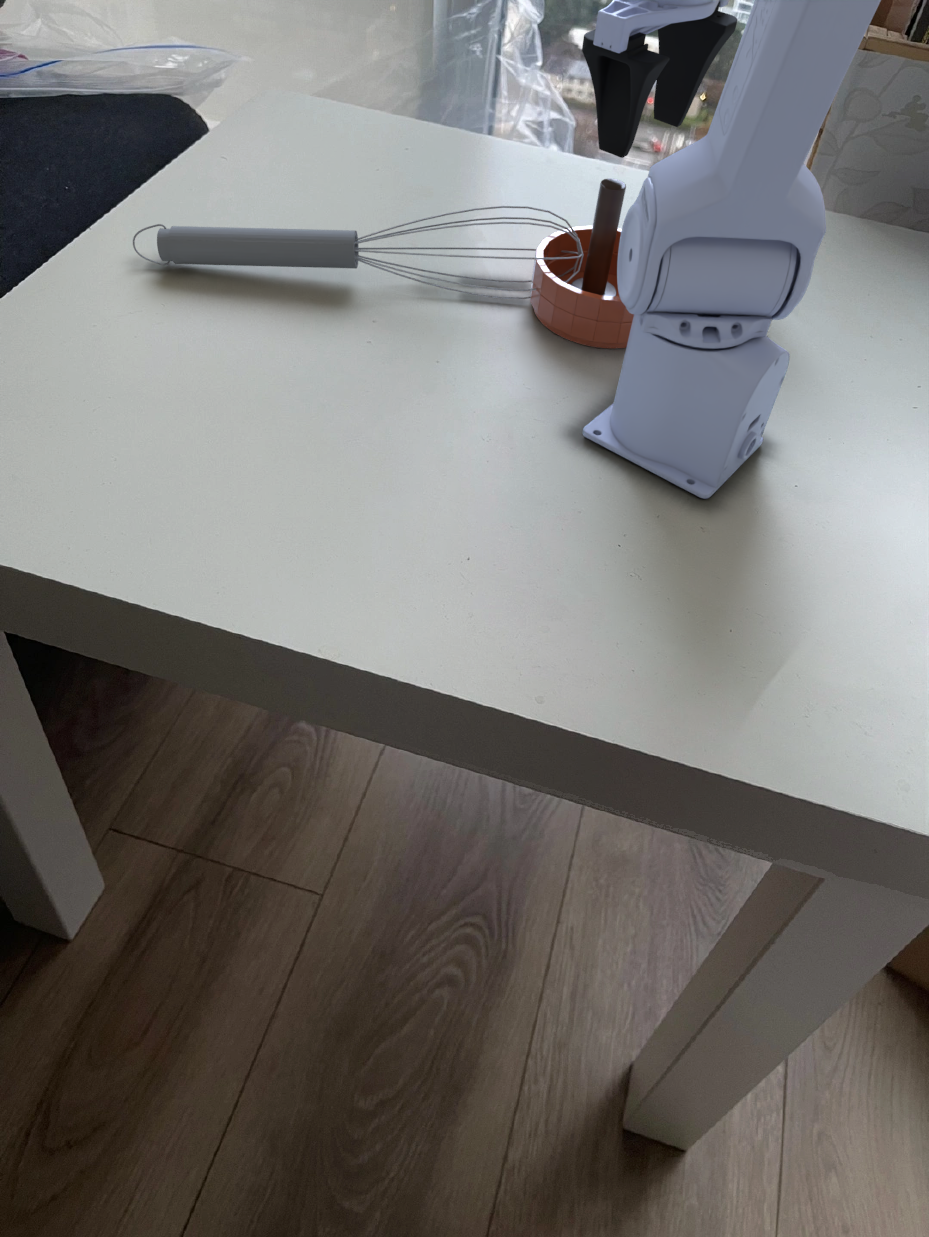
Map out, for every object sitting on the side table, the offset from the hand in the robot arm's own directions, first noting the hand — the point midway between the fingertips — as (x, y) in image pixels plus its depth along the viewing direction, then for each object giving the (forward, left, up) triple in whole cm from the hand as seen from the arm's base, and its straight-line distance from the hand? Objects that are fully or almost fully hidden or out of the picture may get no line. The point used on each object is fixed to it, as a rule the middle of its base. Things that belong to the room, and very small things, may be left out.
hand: (641, 136), depth 69 cm
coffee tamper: (-2, +6, -10) cm, 12 cm away
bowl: (-3, +6, -10) cm, 12 cm away
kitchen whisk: (+13, +16, -10) cm, 23 cm away
